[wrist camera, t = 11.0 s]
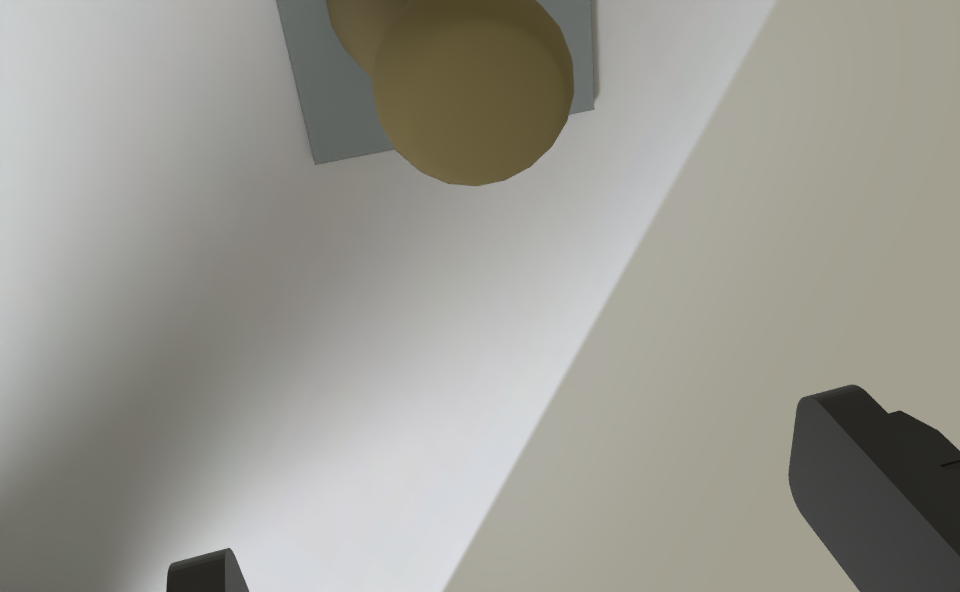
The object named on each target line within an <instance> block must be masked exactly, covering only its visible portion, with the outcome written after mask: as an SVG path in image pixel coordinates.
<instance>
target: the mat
mask: <svg viewBox="0 0 960 592" xmlns="http://www.w3.org/2000/svg"><path fill="white" fill-rule="evenodd" d="M536 1H537V2H538V3H540V4H541V6H542V7H543V8H544V9H545V10H546V11H547V13H548V14H549V15H550V16H551V17H552V18H553V19H554V21H555V22H556V23H557V24H558V25H559V26H560V28H561V31H562V33H563V36H564V39H565V41H566V44H567V46H568V49H569V51H570V54H571V57H572V62H573V75H574V96H573V100H572V104H571V108H570V112H569V114H574V113H579V112H584V111H589V110H594V83H593V53H592V23H591V0H536ZM276 2H277V6H278V10H279V15H280V19H281V23H282V27H283V32H284V36H285V40H286V44H287V48H288V53H289V57H290V61H291V65H292V69H293V74H294V78H295V82H296V86H297V90H298V95H299V99H300V103H301V107H302V112H303V116H304V120H305V124H306V128H307V133H308V137H309V141H310V145H311V149H312V154H313V158H314V162H315V165H317V164H322V163H327V162H332V161H337V160H342V159H347V158H352V157H357V156H362V155H367V154H372V153H377V152H382V151H387V150H392V149H394V147H393V145H392V144H391V142H390V140H389V138H388V137H387V135H386V133H385V131H384V130H383V128H382V126H381V124H380V122H379V119H378V116H377V111H376V106H375V101H374V95H373V90H372V79H371V78H370V76H369V75H368V74H367V73H366V72H365V71H364V70H363V69H362V68H361V67H360V66H359V65H358V63H357V62H356V61H355V60H354V59H353V58H352V57H351V56H350V55H349V54H348V53H347V51H346V50H345V49H344V47H343V46H342V44H341V42H340V40H339V39H338V37H337V35H336V33H335V32H334V30H333V28H332V26H331V23H330V18H329V13H328V8H327V4H326V0H276Z"/></svg>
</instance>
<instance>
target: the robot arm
mask: <svg viewBox="0 0 960 592" xmlns="http://www.w3.org/2000/svg"><path fill="white" fill-rule="evenodd" d="M789 484H790V488H791V492H792V495H793V498H794V501H795V503H796V505H797V507H798V509H799V511H800V513H801V514H802V515H803V517H804V518H805V520H806V521H807V522H808V524H809V525H810V526H811V528H812V529H813V530H814V532H815V533H816V534H817V536H818V537H819V538H820V539H821V541H822V542H823V543H824V545H825V546H826V547H827V549H828V550H829V551H830V553H831V554H832V555H833V557H834V558H835V559H836V560H837V562H838V563H839V565H840V566H841V567H842V568H843V570H844V571H845V572H846V574H847V575H848V576H849V578H850V579H851V580H852V581H853V583H854V584H855V586H856V587H857V588H858V590H859V591H860V592H960V451H959V450H958V449H957V448H956V447H955V446H954V445H953V444H952V443H951V442H950V441H949V440H948V439H947V438H946V437H944V436H943V435H942V434H941V433H940V432H939V431H938V430H936V429H934V428H932V427H931V426H929V425H927V424H925V423H923V422H921V421H919V420H917V419H915V418H914V417H912V416H910V415H908V414H906V413H904V412H902V411H896V412H893V413H889V414H888V413H887V412H886V411H885V410H884V409H883V408H882V407H881V406H880V405H879V404H878V403H877V402H876V401H875V400H874V399H873V398H872V397H871V396H870V395H869V394H868V393H867V392H866V391H865V390H864V389H862V388H861V387H859V386H856V385H847V386H844V387H840V388H836V389H833V390H829V391H825V392H822V393H817V394H814V395H810V396H806V397H803V398H802V399H801V400H800V401H799V403H798V406H797V410H796V418H795V426H794V434H793V442H792V450H791V457H790V465H789ZM166 592H249V590H248V587H247V585H246V582H245V580H244V577H243V575H242V572H241V570H240V567H239V565H238V562H237V560H236V557H235V555H234V553H233V551H232V550H231V549H230V548H227V549H223V550H219V551H215V552H212V553H208V554H204V555H200V556H197V557H193V558H189V559H185V560H182V561H178V562H174V563H171V565H170V566H169V569H168V576H167V589H166Z"/></svg>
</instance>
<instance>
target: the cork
mask: <svg viewBox="0 0 960 592" xmlns="http://www.w3.org/2000/svg"><path fill="white" fill-rule="evenodd" d="M326 4H327V8H328V13H329V18H330V23H331V26H332V28H333V30H334V32H335V33H336V35H337V37H338V39H339V40H340V42H341V44H342V46H343V47H344V49H345V50H346V51H347V53H348V54H349V55H350V56H351V57H352V58H353V59H354V60H355V61H356V62H357V63H358V65H359V66H360V67H361V68H362V69H363V70H364V71H365V72H366V73H367V74H368V75H369V76H370V78H371V79H372V90H373V95H374V101H375V106H376V111H377V116H378V119H379V122H380V124H381V126H382V128H383V130H384V131H385V133H386V135H387V137H388V138H389V140H390V142H391V144H392V145H393V147H394V149H395V150H396V151H397V152H398V153H400V154H401V155H402V156H403V157H404V158H405V159H406V160H408V161H409V162H410V163H411V164H412V165H413V166H414V167H416V168H417V169H418V170H420V171H421V172H422V173H424V174H427V175H429V176H431V177H434V178H436V179H439V180H441V181H443V182H446V183H448V184H458V185H469V186H480V185H485V184H489V183H494V182H499V181H504V180H506V179H508V178H510V177H512V176H514V175H516V174H518V173H520V172H521V171H523V170H525V169H527V168H529V167H531V166H532V165H533V164H534V163H535V162H536V161H537V160H538V159H539V158H540V157H541V156H542V155H543V154H544V153H546V152H547V151H548V150H549V149H550V148H551V147H552V145H553V144H554V142H555V140H556V139H557V137H558V135H559V134H560V132H561V130H562V129H563V127H564V125H565V124H566V122H567V119H568V115H569V112H570V108H571V104H572V100H573V96H574V75H573V62H572V57H571V54H570V51H569V49H568V46H567V44H566V41H565V39H564V36H563V33H562V31H561V28H560V26H559V25H558V24H557V23H556V22H555V21H554V19H553V18H552V17H551V16H550V15H549V14H548V13H547V11H546V10H545V9H544V8H543V7H542V6H541V4H540V3H538V2H537V1H536V0H326Z"/></svg>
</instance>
